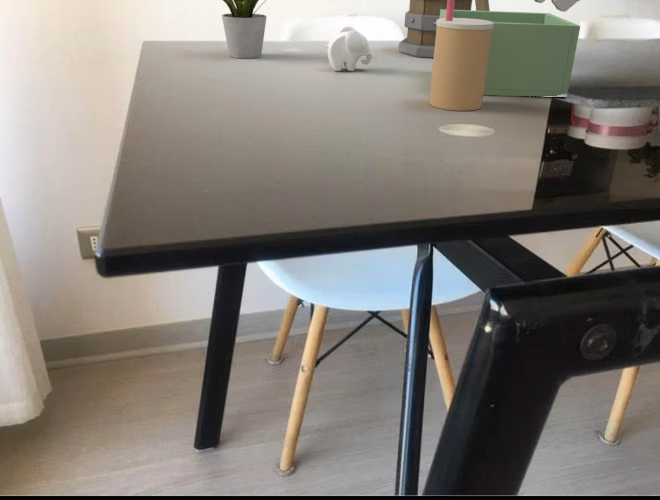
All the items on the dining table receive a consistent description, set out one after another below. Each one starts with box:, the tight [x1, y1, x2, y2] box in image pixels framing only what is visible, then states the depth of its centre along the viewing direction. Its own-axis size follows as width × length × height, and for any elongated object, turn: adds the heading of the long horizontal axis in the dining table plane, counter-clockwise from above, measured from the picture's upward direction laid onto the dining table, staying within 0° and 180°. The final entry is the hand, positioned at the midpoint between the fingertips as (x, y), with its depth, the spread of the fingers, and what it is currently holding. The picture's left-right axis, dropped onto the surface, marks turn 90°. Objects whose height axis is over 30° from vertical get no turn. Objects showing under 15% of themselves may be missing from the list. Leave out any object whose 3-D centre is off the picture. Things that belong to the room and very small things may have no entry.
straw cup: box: [428, 0, 494, 112], centre depth 73 cm, size 6×6×14 cm
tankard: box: [398, 0, 491, 59], centre depth 105 cm, size 20×13×15 cm, turn 30°
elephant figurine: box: [320, 25, 375, 72], centre depth 93 cm, size 7×8×6 cm
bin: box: [439, 9, 581, 98], centre depth 86 cm, size 16×16×9 cm
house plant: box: [221, 0, 267, 59], centre depth 99 cm, size 14×14×16 cm
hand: (544, 2), depth 69 cm, fingers open, 8 cm apart
